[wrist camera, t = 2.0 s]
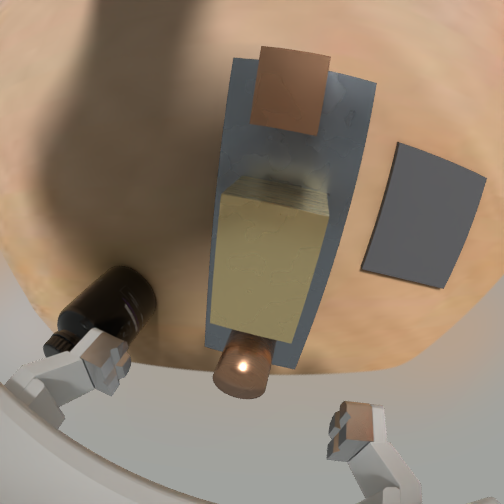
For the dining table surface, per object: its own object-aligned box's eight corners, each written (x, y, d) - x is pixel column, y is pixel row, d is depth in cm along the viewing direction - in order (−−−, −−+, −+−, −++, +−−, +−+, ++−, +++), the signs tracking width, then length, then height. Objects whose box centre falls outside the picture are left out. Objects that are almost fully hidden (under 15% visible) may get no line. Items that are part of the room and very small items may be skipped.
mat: (397, 141, 17) (399, 142, 16) (483, 176, 16) (486, 178, 15) (361, 265, 22) (361, 269, 21) (441, 284, 21) (443, 288, 20)
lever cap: (242, 175, 16) (221, 193, 13) (326, 193, 16) (329, 216, 12) (228, 286, 20) (209, 323, 17) (297, 303, 20) (291, 343, 16)
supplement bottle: (169, 299, 28) (105, 388, 17) (140, 325, 31) (84, 401, 20) (121, 250, 26) (39, 324, 16) (98, 283, 30) (31, 350, 19)
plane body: (249, 68, 17) (189, 32, 8) (364, 89, 16) (409, 66, 7) (218, 318, 27) (178, 399, 19) (299, 338, 26) (284, 428, 18)
